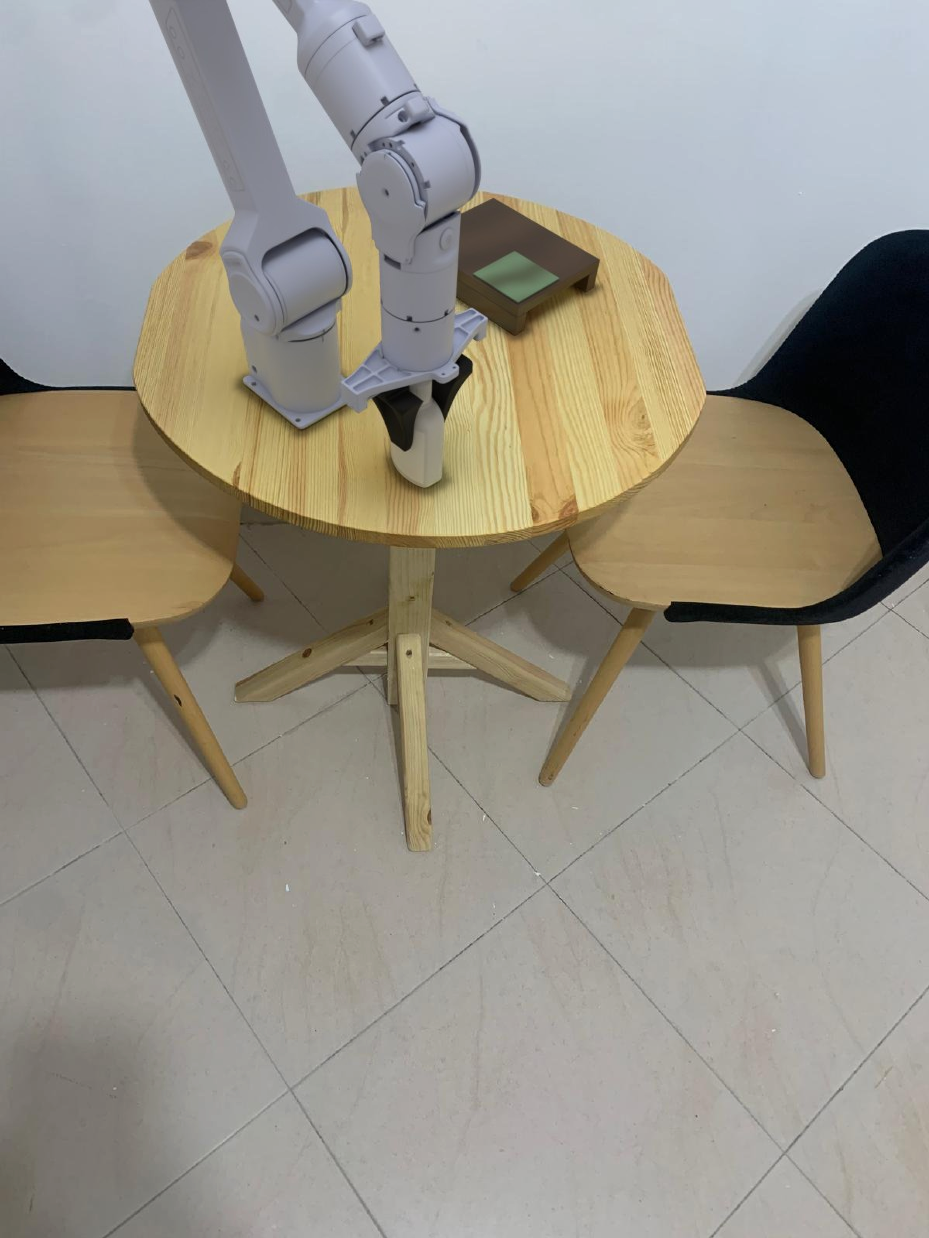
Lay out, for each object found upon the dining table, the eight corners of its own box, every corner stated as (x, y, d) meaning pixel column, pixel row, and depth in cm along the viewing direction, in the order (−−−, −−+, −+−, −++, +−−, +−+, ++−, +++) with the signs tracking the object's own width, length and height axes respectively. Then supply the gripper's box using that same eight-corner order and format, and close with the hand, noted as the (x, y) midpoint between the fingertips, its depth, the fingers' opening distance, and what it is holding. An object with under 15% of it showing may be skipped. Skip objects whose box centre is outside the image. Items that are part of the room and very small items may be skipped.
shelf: (409, 266, 91) (409, 236, 88) (490, 225, 97) (493, 196, 94) (514, 335, 85) (518, 306, 82) (594, 287, 91) (600, 258, 88)
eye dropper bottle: (397, 492, 72) (396, 389, 62) (389, 449, 75) (386, 344, 65) (443, 488, 72) (449, 385, 62) (433, 445, 75) (438, 341, 65)
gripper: (381, 366, 54) (386, 499, 65) (521, 287, 60) (503, 420, 71) (317, 318, 56) (332, 454, 68) (457, 247, 63) (449, 382, 74)
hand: (416, 434), depth 70 cm, fingers closed on eye dropper bottle, 3 cm apart
